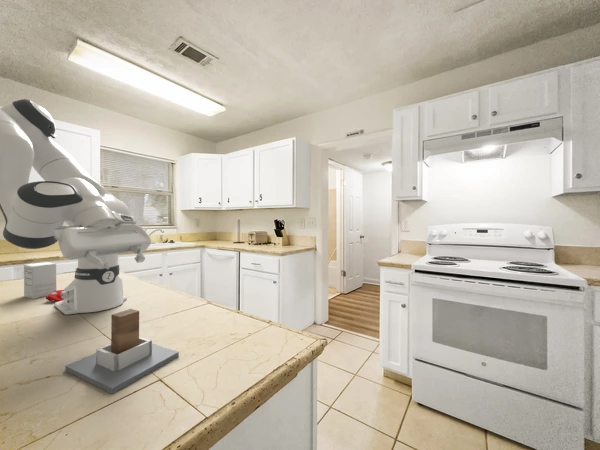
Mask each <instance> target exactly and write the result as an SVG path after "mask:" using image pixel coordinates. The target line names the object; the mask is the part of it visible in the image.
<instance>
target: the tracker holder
mask: <svg viewBox="0 0 600 450" xmlns="http://www.w3.org/2000/svg"><path fill="white" fill-rule="evenodd" d="M63 291H64V289H60V290H59V289H58V290H57V289H56V291H53V292H52V293H50V294H49V295H48V296H45V299H46V300H47V301H49V302H50V301H51V302H52V301H53V302H54V303H56V302H59V301H62V300H64V298H61V292H63Z"/></svg>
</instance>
